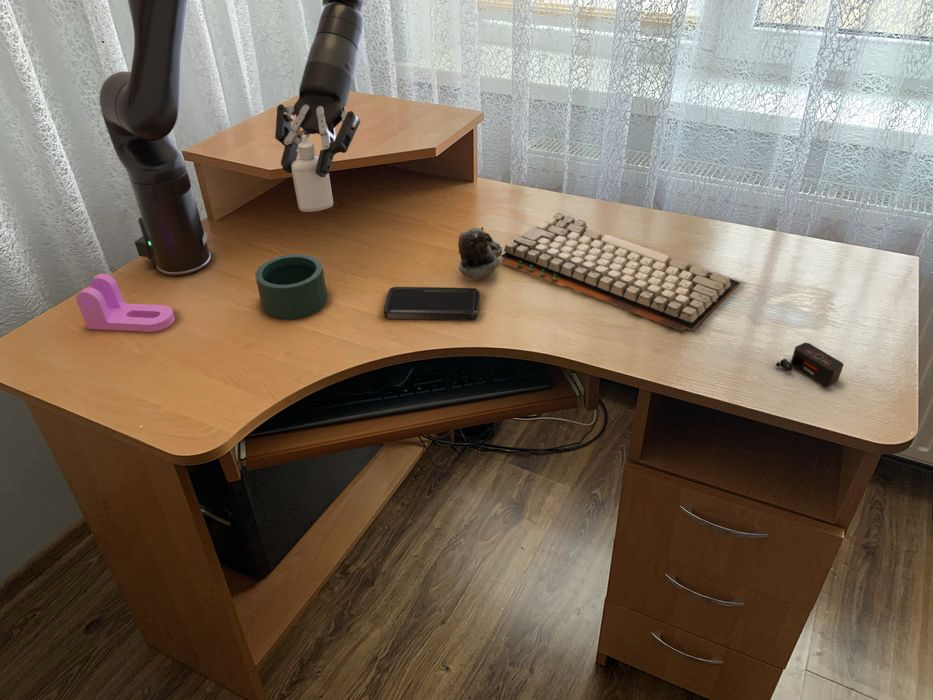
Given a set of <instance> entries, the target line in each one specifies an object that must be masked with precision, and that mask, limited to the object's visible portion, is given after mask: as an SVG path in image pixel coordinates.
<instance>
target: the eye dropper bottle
mask: <svg viewBox="0 0 933 700" xmlns="http://www.w3.org/2000/svg"><path fill="white" fill-rule="evenodd" d="M297 151H298V155H299V156H298V157H299V158H296V160H295V161H294V162H293V163H292V165H291V170H292V173H291V175H292V180H293V185H294V191H295V197H296V203H297V206H298V210H299V211H301V212H303V213H313V212H320V211H324V210H327V209H330V208H332V207H333V206H334V198H333V192H332V185H331V179H330V172H329V173H328V174H326V177H320V176H319V175H317V174H316V171H315V170H316V166H317V162H318V158H319V155H318V156H317V155H316V151H315V144H314V143H313V141H309V139H308V138H307V136H306V135H302V142H301V143H299V144H298V149H297Z"/></svg>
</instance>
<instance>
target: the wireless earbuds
mask: <svg viewBox="0 0 933 700" xmlns="http://www.w3.org/2000/svg"><path fill="white" fill-rule="evenodd" d="M775 366H776V367H778V368H780V367H781V368H782V369H783V370H784V371H786V372H791V371H793V369H795V370H796V371H797V372H799V373H801V374H802V375H804V376H806V377H808V378H809V379H811V380H812V381H813V382H815V383H817V384H819V385H820V386H822V387H824V388H829V387H831V386H832V385H834V384H837V383H838V381H839V380H840V379H839V378H840V377H841V374H842V371H843V368H844V363H843V362H842V361H841V360H838V359H837V358H836V357H833V356H832V355H830V354H828V353H826V352H825V351H823V350H821V348H818V347H816V346H815V345H813V344H811V343H809V342H803V343H801V344H799V345H796V346H795V347H794V351H793V354H792V357H791V361H790V362H789V360H787V358H783V359H781V360H780V361H777V362H776V363H775Z"/></svg>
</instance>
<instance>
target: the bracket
mask: <svg viewBox="0 0 933 700" xmlns="http://www.w3.org/2000/svg"><path fill="white" fill-rule="evenodd" d="M75 299H76V303H77V305H78V308H79V310H80V313H81V315H82V318H83V320H84V322H85V325H86V327H87V329H88V330H100V331H101V330H103V331H122V332H123V331H124V332H145V333H154V332H160V331H163V330H166V329H167V328H169V327H170V326H172V325H173V323H174V322H175V321H176V319H175V314H174V311H173V309H172V308H171V307H170V306H168V305H165V304H148V303H147V304H146V303H127V302H125V300H124V298H123V295H122V293H121V290H120V288H119V285H118V282H117V281H116V279H115V278H114V277H113V276H111V275H109V274H107V273H99V274H97V275H95V277H94V278H93V279H92V280H91V281H90V287H84V288H83V289H81V290H80V291H79V292H78V294H77V295H76V297H75Z"/></svg>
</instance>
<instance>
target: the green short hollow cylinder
mask: <svg viewBox="0 0 933 700" xmlns="http://www.w3.org/2000/svg"><path fill="white" fill-rule="evenodd" d="M254 274H255V281H256V285H257V290H258V294H259V298H260V304H261V307H262V309H263V311H264V313H265V314H266V315H268V316H269V317H271V318H273V319H277V320H283V321H285V320H287V321H291V320H299V319H300V320H301V319H304V318H307V317H310V316H313V315H314V314H316V313H319V311H320V310H322V309H323V308H324V307H325V306H326V304H327V302H328V293H327V292H328V291H327V286H326V279H325V275H324V274H325V273H324V269H323V264H322V262H321V261H320V260H319V259H318V258H316V257H314V256H311V255H308V254H307V255H306V254H302V253H301V254H300V253H299V254H298V253H297V254H296V253H295V254H286V255H284V254H283V255H279V256H277V257H274V258H271V259H269V260H267V261H265V262H263V263H262V264H261V265H259V266H258V267H257V269H256V271H255V273H254Z"/></svg>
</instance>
